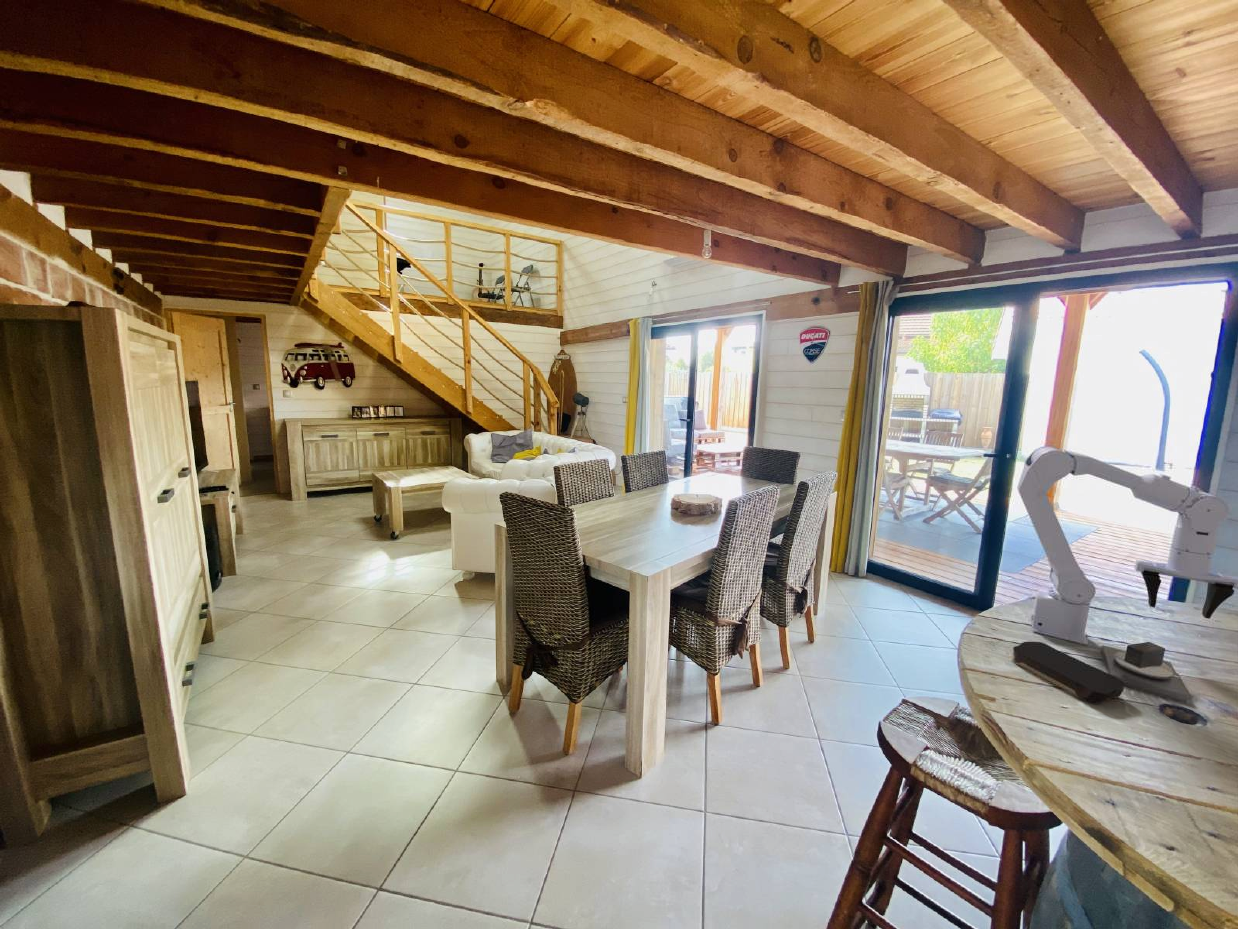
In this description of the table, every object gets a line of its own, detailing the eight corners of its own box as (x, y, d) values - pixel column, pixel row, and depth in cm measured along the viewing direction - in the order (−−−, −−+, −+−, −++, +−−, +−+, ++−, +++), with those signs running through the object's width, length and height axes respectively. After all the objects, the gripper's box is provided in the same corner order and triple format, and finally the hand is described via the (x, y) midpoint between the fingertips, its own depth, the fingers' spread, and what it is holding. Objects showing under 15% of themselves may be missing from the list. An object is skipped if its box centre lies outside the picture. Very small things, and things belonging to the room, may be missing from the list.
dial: (1153, 681, 92) (1157, 660, 91) (1103, 658, 99) (1107, 638, 98) (1183, 676, 93) (1187, 655, 93) (1131, 653, 101) (1135, 634, 100)
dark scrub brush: (1128, 702, 89) (1132, 684, 88) (1095, 709, 87) (1098, 691, 86) (1033, 654, 104) (1036, 639, 104) (1003, 659, 102) (1006, 643, 102)
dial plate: (1110, 681, 94) (1111, 673, 94) (1100, 651, 105) (1102, 644, 105) (1187, 703, 88) (1189, 695, 88) (1168, 668, 99) (1170, 661, 98)
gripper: (1240, 552, 98) (1225, 614, 100) (1137, 537, 107) (1125, 594, 109) (1253, 562, 92) (1237, 627, 95) (1143, 545, 102) (1131, 605, 104)
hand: (1178, 610), depth 102 cm, fingers open, 7 cm apart
